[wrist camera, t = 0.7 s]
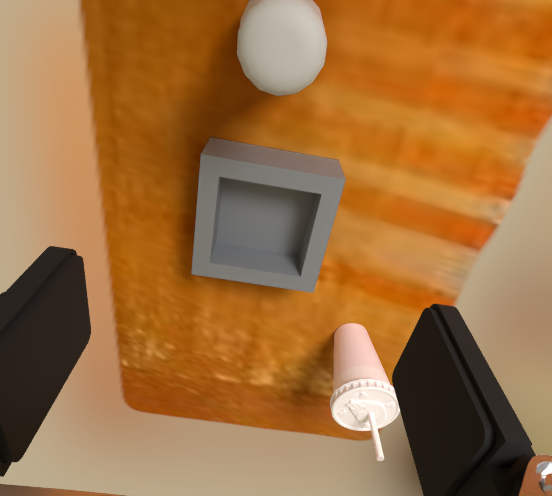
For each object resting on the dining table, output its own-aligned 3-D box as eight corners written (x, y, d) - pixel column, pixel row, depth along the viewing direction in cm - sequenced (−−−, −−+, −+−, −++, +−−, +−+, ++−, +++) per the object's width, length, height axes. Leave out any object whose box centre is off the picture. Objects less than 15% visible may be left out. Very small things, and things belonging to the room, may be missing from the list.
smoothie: (355, 363, 47) (380, 485, 35) (310, 341, 45) (320, 462, 33) (391, 329, 44) (431, 450, 32) (345, 304, 42) (369, 423, 30)
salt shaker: (232, 60, 30) (203, 91, 19) (255, -27, 27) (235, -52, 16) (305, 87, 31) (317, 131, 20) (334, 5, 28) (367, 3, 17)
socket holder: (210, 137, 33) (200, 154, 29) (338, 159, 34) (345, 179, 30) (200, 247, 38) (191, 274, 35) (310, 264, 39) (313, 292, 36)
